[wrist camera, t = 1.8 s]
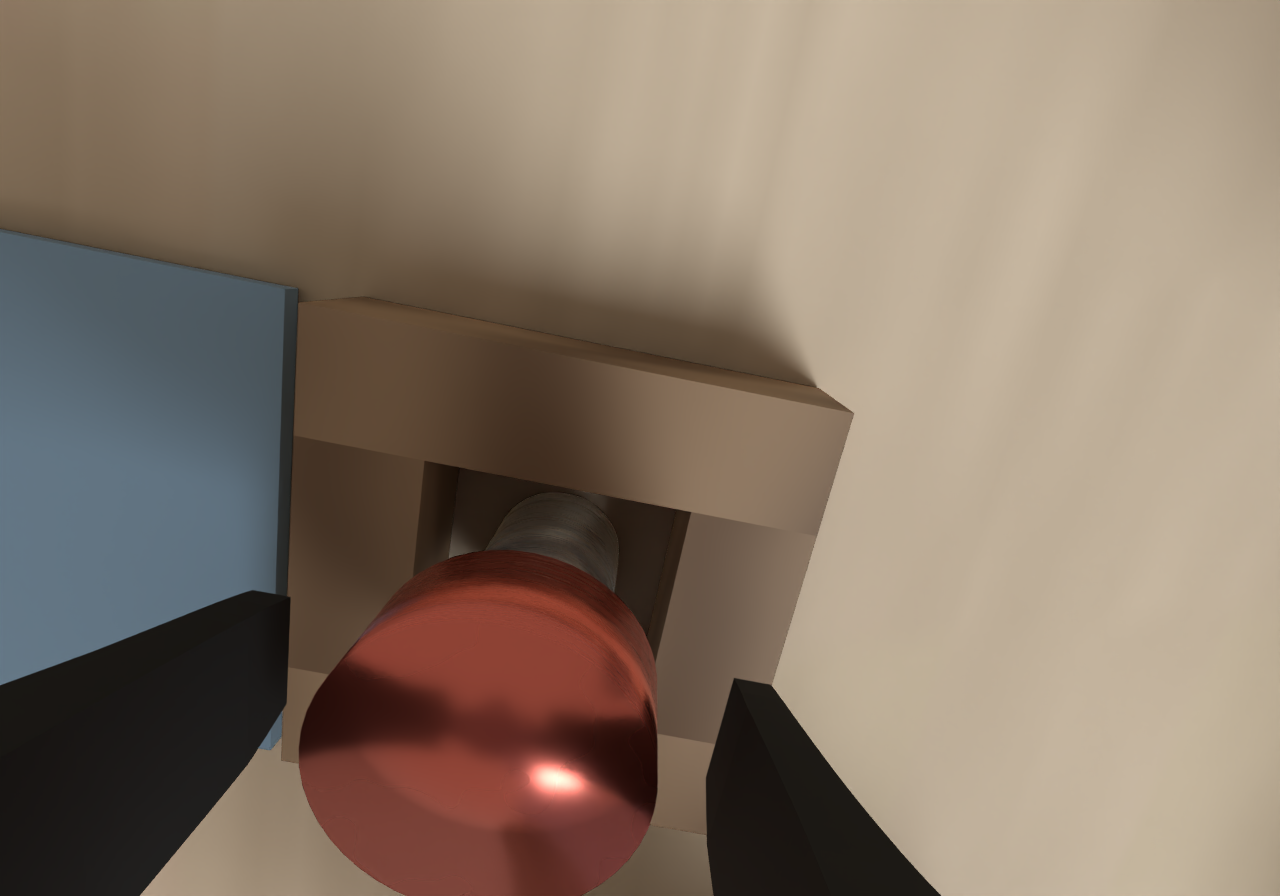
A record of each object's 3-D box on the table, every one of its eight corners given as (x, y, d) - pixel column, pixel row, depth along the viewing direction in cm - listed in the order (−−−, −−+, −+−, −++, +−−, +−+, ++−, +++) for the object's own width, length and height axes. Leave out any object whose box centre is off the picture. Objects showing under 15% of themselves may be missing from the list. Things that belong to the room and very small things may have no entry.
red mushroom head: (675, 477, 14) (692, 660, 8) (635, 651, 16) (621, 938, 9) (471, 438, 14) (306, 588, 7) (449, 617, 15) (291, 883, 9)
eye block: (819, 388, 14) (854, 413, 11) (714, 755, 16) (724, 838, 14) (362, 296, 13) (299, 302, 11) (336, 687, 16) (281, 760, 14)
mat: (297, 288, 13) (284, 288, 13) (281, 736, 17) (270, 750, 16) (-174, 193, 13) (-205, 191, 12) (-94, 669, 16) (-117, 682, 16)
